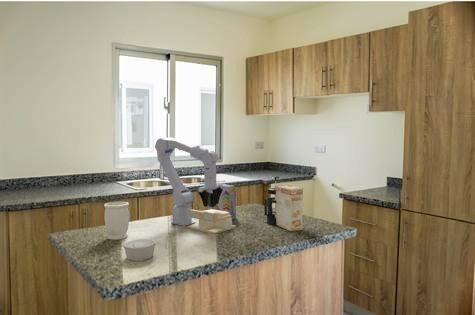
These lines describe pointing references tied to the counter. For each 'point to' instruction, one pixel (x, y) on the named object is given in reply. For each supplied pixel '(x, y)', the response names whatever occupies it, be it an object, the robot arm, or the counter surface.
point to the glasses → (207, 216)
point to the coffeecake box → (289, 207)
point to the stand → (214, 223)
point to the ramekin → (139, 249)
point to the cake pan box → (224, 200)
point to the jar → (116, 219)
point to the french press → (270, 216)
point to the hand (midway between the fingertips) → (211, 205)
